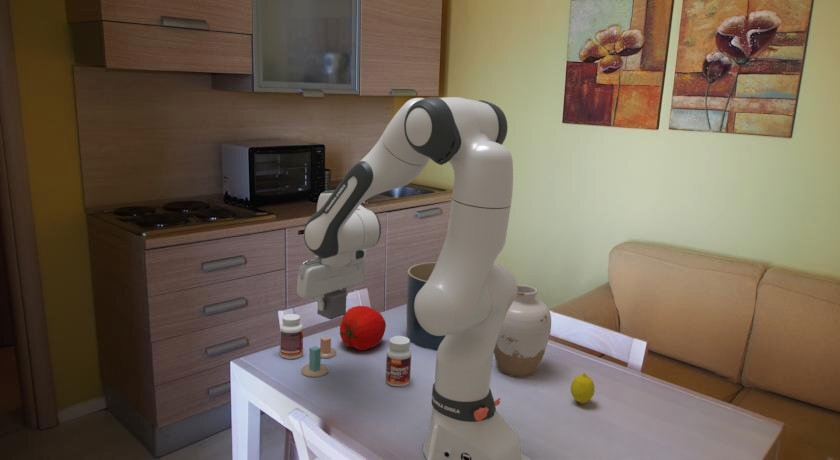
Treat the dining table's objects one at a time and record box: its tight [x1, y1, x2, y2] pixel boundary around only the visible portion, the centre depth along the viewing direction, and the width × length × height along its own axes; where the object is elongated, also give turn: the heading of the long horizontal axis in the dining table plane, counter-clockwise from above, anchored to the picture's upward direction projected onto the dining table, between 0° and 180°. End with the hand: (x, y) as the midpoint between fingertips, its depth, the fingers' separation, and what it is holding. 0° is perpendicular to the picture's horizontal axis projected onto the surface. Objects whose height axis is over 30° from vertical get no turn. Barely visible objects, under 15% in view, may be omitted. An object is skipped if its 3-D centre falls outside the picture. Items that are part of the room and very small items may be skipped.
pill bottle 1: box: [279, 313, 304, 360], centre depth 165 cm, size 6×6×11 cm
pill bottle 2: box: [385, 335, 412, 387], centre depth 153 cm, size 6×6×11 cm
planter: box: [405, 261, 446, 351], centre depth 181 cm, size 22×22×20 cm
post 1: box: [300, 345, 330, 379], centre depth 156 cm, size 7×7×6 cm
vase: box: [493, 284, 552, 378], centre depth 161 cm, size 16×16×23 cm
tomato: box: [338, 305, 387, 351], centre depth 173 cm, size 13×13×13 cm
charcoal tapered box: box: [317, 289, 347, 321], centre depth 152 cm, size 5×5×6 cm
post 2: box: [319, 336, 337, 359], centre depth 167 cm, size 6×6×4 cm
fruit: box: [570, 372, 595, 405], centre depth 146 cm, size 6×6×8 cm
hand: (331, 306), depth 153 cm, fingers closed on charcoal tapered box, 5 cm apart
